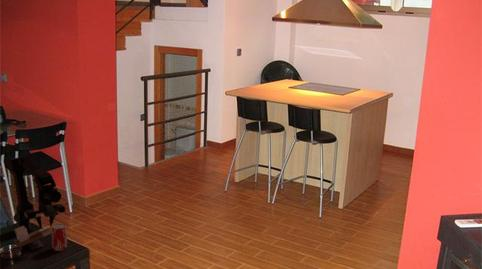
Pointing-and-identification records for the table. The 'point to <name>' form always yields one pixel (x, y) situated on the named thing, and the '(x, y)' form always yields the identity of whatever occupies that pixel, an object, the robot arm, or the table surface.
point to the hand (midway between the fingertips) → (45, 227)
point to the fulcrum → (35, 244)
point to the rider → (22, 234)
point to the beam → (35, 236)
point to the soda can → (59, 237)
